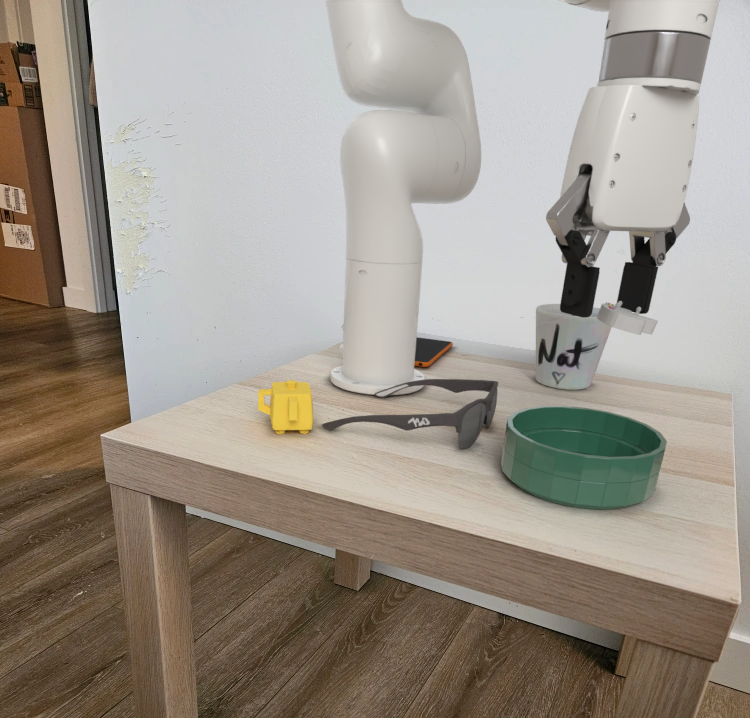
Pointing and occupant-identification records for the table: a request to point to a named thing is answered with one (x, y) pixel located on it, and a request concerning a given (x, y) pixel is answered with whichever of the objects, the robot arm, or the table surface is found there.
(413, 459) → the table surface
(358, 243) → the robot arm
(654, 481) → the bowl
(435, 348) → the smartphone
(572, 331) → the mug
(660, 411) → the table surface
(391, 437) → the table surface
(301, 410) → the teapot
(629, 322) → the game controller
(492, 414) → the sunglasses
